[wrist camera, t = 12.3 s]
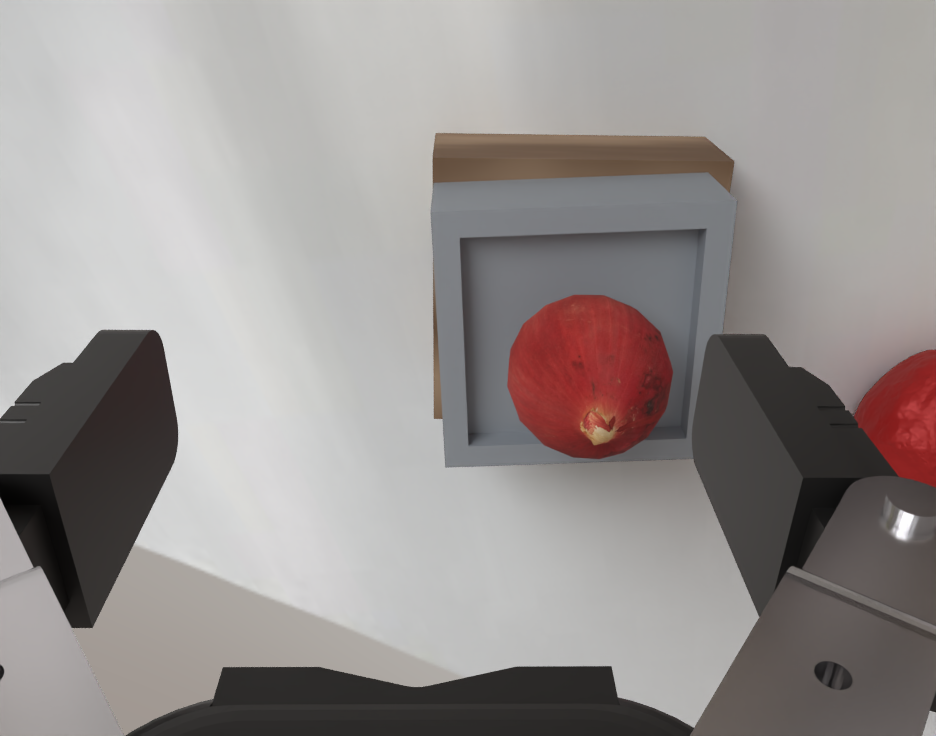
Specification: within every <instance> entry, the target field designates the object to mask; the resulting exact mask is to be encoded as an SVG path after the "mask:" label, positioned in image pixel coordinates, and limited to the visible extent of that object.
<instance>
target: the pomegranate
mask: <svg viewBox="0 0 936 736" xmlns="http://www.w3.org/2000/svg"><path fill="white" fill-rule="evenodd" d="M854 419H855V420H856V421H857V423H858V428H862V429H863V430H864V432H865V433H866V434H867V436H868V437H869V438H870V440H871V441H872V442H873V443H874V445H875V446H876V447H877V449H878V450H879V451H880V453H881V454H882V455H883V457H884V458H885V459H886V460H887V462H888V463H889V464H890V466H891V467H892V468H893V470H894V471H895V472H896V474H897V475H898V476H899V477H902V478H907V479H912V480H915V481H919V482H922V483H925V484H928V485H930V486H933V487H935V488H936V350H926V351H923V352H920V353H918V354H915V355H913V356H911V357H909V358H908V359H906V360H904V361H902V362H900V363H899V364H897V365H896V366H895V367H893V368H892V369H891V370H890V371H889V372H887V373H886V374H885V375H884V376H883V377H882V378H881V379H879V381H878V382H877V383H876V384H875V385H874V386H873V387H872V388H871V389H870V390H869V391H868V392H867V393H866V395H865V396H864V398H863V399H862V401H861V403H860V404H859V406H858V409H857V411H856V413H855V415H854Z"/></svg>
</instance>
